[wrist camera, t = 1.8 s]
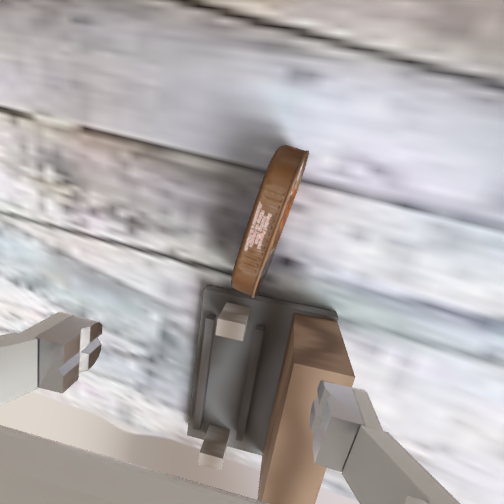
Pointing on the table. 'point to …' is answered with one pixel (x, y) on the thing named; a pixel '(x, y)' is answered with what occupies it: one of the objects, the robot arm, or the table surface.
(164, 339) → the table surface
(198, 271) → the table surface
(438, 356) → the table surface
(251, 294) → the tin
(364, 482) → the robot arm
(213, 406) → the cabinet
